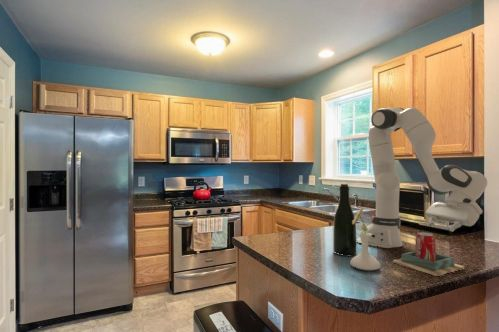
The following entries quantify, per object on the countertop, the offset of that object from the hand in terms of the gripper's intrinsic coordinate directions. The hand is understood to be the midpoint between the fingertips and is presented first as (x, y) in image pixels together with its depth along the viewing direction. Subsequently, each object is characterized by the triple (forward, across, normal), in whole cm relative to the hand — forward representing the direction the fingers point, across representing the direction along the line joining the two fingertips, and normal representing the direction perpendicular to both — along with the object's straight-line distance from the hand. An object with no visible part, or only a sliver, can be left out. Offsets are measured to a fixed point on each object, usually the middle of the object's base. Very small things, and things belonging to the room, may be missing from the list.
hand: (439, 227), depth 119 cm
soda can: (+15, 0, +5) cm, 16 cm away
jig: (+15, 0, +6) cm, 17 cm away
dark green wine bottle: (+32, -24, -10) cm, 41 cm away
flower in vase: (+35, -4, -12) cm, 37 cm away
